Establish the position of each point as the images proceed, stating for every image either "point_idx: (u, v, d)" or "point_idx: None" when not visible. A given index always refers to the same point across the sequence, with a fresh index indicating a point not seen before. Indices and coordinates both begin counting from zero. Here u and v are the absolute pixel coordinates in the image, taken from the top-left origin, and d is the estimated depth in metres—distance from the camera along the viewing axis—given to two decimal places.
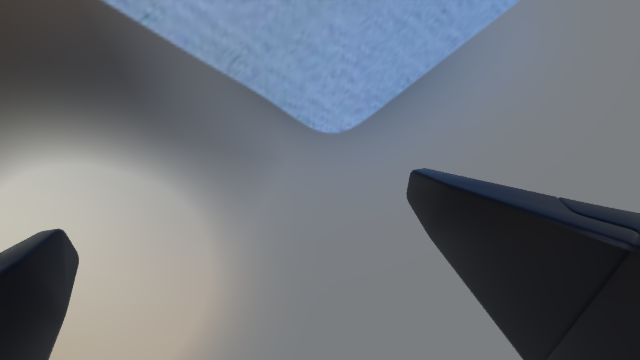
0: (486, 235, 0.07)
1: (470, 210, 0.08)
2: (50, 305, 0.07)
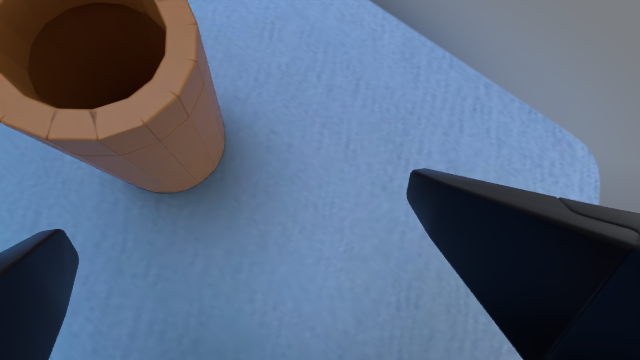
0: (486, 235, 0.07)
1: (470, 210, 0.08)
2: (50, 305, 0.07)
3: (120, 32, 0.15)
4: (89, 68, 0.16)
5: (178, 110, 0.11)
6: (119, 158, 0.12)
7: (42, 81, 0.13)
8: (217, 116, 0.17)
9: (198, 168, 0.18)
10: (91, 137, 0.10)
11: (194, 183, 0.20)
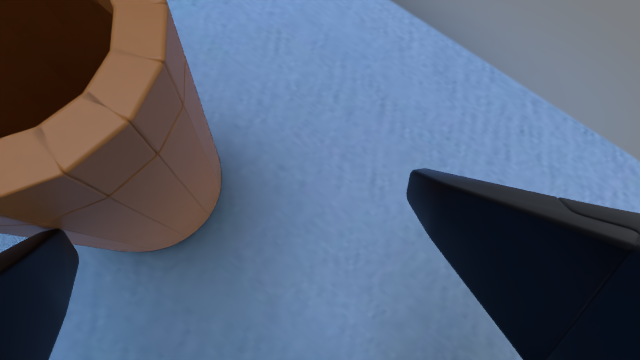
0: (486, 235, 0.07)
1: (470, 210, 0.08)
2: (50, 305, 0.07)
3: (71, 39, 0.11)
4: (30, 90, 0.11)
5: (134, 145, 0.07)
6: (40, 227, 0.07)
7: None
8: (209, 150, 0.12)
9: (184, 221, 0.13)
10: None
11: (181, 238, 0.15)
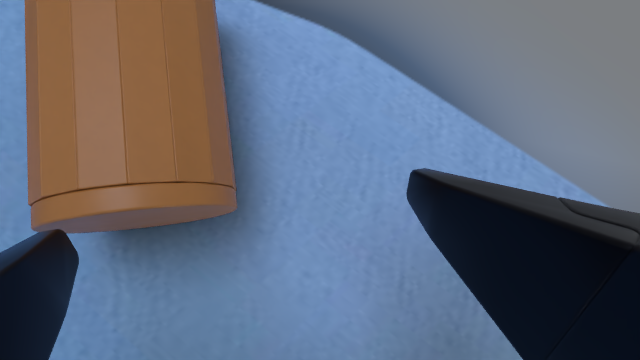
0: (486, 235, 0.07)
1: (470, 210, 0.08)
2: (50, 305, 0.07)
3: None
4: None
5: None
6: None
7: None
8: (224, 97, 0.14)
9: (185, 116, 0.11)
10: None
11: (169, 184, 0.10)
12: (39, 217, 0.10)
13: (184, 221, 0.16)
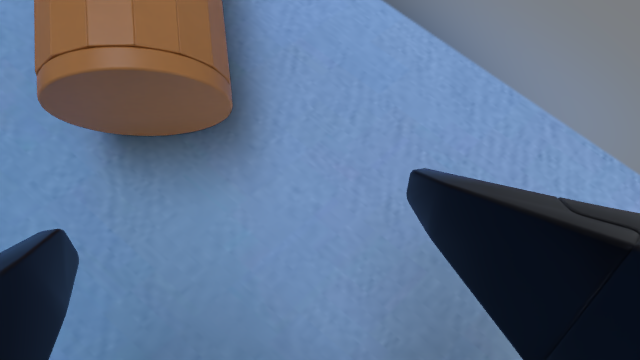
0: (486, 235, 0.07)
1: (470, 210, 0.08)
2: (50, 305, 0.07)
3: None
4: None
5: None
6: None
7: None
8: None
9: (188, 0, 0.12)
10: None
11: (173, 53, 0.11)
12: (48, 75, 0.11)
13: (179, 130, 0.16)
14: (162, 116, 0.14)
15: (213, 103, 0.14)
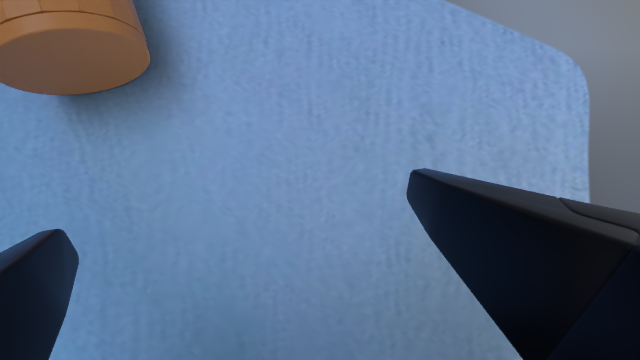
0: (486, 235, 0.07)
1: (470, 210, 0.08)
2: (50, 305, 0.07)
3: None
4: None
5: None
6: None
7: None
8: None
9: None
10: None
11: (75, 12, 0.14)
12: None
13: (117, 82, 0.20)
14: (94, 70, 0.18)
15: (129, 49, 0.17)
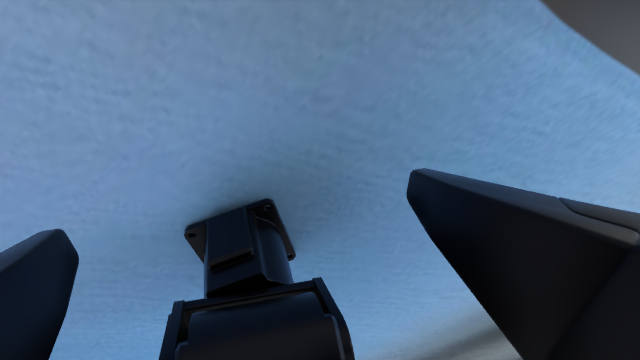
0: (486, 235, 0.07)
1: (470, 210, 0.08)
2: (50, 305, 0.07)
3: None
4: None
5: None
6: None
7: None
8: None
9: None
10: None
11: None
12: None
13: None
14: None
15: None
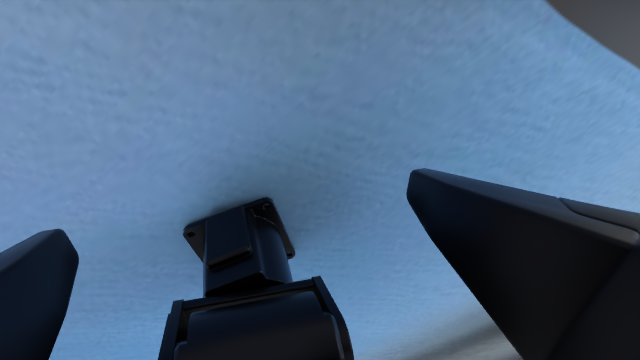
0: (486, 235, 0.07)
1: (470, 210, 0.08)
2: (50, 305, 0.07)
3: None
4: None
5: None
6: None
7: None
8: None
9: None
10: None
11: None
12: None
13: None
14: None
15: None
